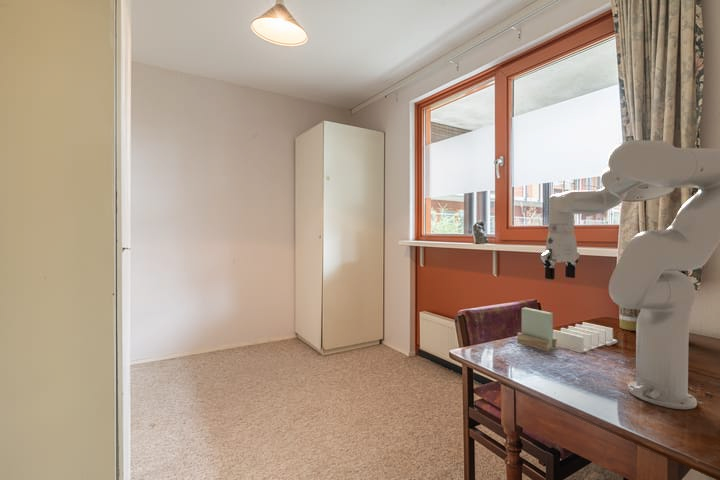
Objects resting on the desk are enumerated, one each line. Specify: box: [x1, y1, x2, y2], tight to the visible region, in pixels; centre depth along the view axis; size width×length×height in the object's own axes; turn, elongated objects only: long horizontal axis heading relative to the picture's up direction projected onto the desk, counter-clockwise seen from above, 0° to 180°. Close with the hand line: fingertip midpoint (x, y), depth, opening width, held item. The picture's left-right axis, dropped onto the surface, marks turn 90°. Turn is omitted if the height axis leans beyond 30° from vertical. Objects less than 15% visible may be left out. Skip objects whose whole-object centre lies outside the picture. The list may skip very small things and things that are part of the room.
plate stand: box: [516, 332, 560, 352], centre depth 118 cm, size 7×12×4 cm, turn 30°
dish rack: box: [553, 321, 618, 354], centre depth 120 cm, size 25×11×6 cm, turn 120°
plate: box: [520, 306, 554, 348], centre depth 118 cm, size 2×10×12 cm, turn 30°
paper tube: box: [619, 306, 641, 332], centre depth 138 cm, size 7×7×25 cm
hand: (560, 278), depth 116 cm, fingers open, 9 cm apart
